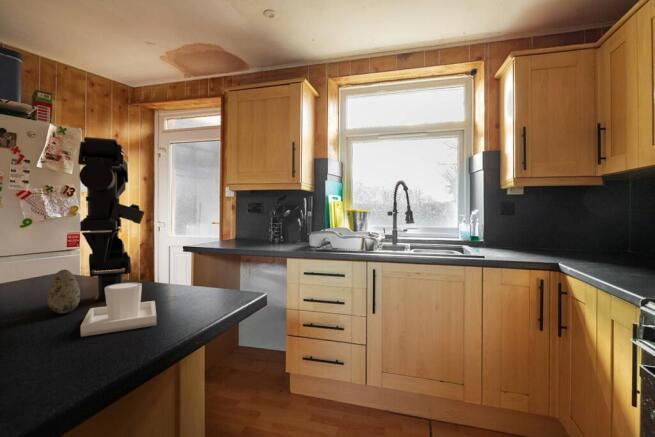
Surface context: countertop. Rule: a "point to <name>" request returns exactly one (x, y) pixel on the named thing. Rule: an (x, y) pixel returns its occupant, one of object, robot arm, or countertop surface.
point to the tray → (100, 324)
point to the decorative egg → (63, 292)
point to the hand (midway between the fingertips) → (103, 260)
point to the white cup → (123, 300)
